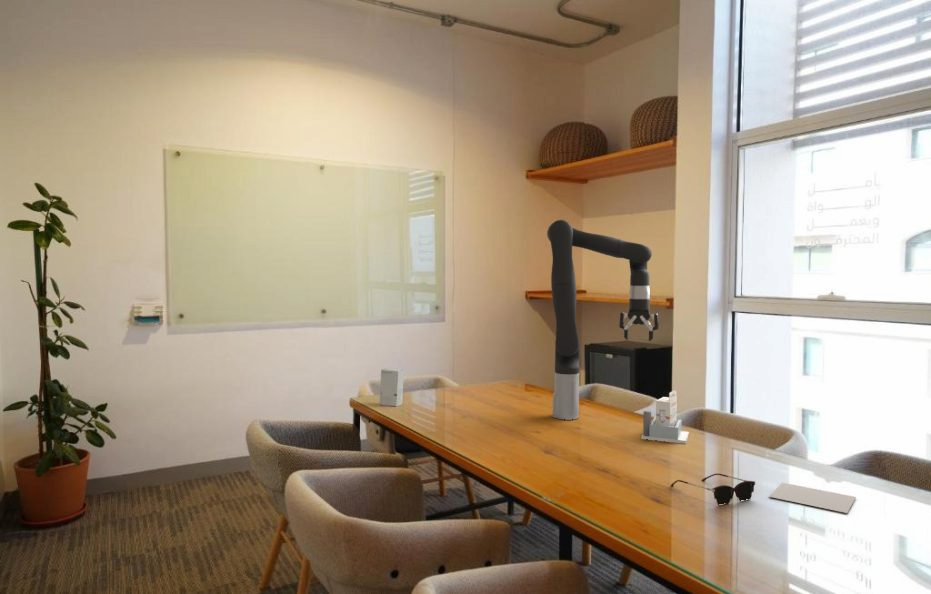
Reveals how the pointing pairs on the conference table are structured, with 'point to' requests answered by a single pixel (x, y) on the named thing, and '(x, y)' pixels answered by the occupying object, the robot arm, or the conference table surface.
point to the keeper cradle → (662, 431)
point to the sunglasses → (728, 490)
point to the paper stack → (813, 497)
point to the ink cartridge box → (667, 410)
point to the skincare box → (391, 387)
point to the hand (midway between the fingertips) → (638, 340)
